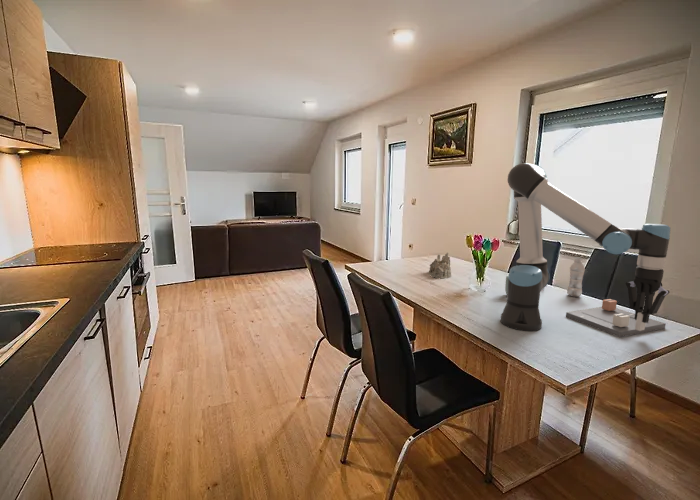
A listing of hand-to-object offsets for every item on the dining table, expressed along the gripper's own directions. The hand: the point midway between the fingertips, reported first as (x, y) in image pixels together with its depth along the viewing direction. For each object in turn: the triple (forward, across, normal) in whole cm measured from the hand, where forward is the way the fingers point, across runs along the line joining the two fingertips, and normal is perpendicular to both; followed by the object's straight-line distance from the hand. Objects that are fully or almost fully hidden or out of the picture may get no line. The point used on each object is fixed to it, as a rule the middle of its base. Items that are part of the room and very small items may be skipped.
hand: (639, 329), depth 127 cm
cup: (+4, +55, +6) cm, 55 cm away
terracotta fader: (+1, +21, -14) cm, 25 cm away
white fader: (+1, +7, 0) cm, 7 cm away
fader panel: (+3, +14, -7) cm, 16 cm away
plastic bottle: (+4, +45, -24) cm, 51 cm away
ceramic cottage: (+4, +104, +18) cm, 106 cm away
